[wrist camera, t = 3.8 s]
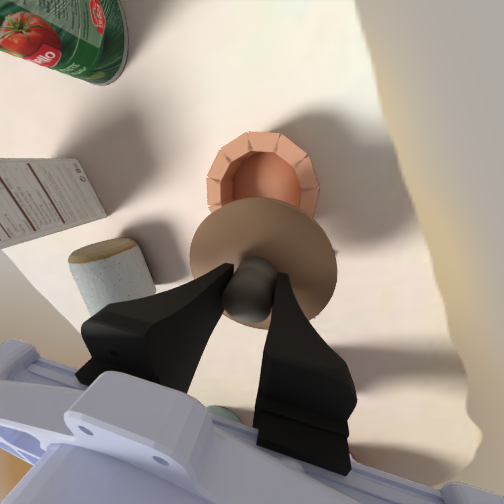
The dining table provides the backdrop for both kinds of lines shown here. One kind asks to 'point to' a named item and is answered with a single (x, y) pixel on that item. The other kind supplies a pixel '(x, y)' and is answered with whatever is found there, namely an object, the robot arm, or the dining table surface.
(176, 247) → the dining table surface
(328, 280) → the walnut lid
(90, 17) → the canned tomato
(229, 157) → the terracotta bowl
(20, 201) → the supplement box
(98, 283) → the ceramic mug
